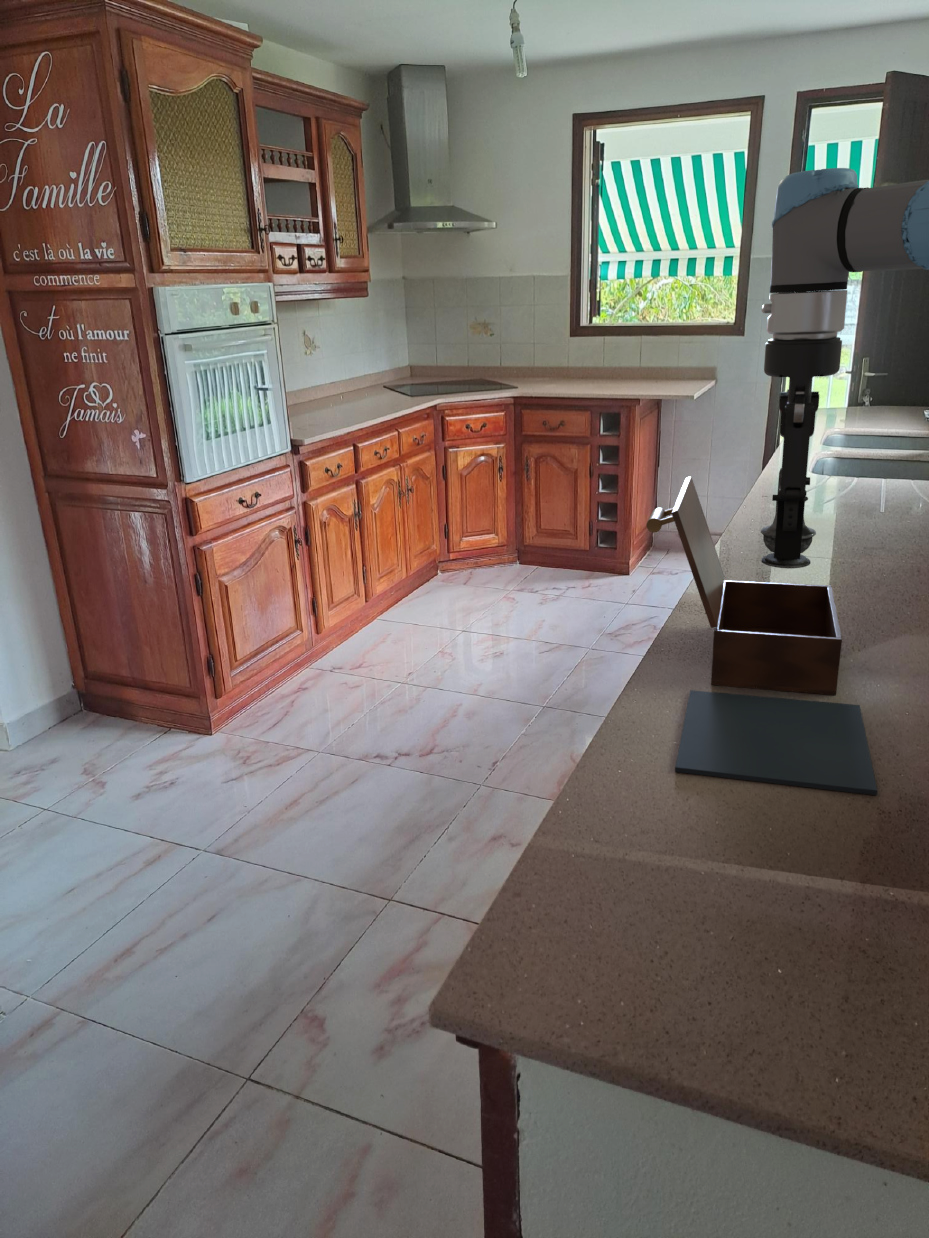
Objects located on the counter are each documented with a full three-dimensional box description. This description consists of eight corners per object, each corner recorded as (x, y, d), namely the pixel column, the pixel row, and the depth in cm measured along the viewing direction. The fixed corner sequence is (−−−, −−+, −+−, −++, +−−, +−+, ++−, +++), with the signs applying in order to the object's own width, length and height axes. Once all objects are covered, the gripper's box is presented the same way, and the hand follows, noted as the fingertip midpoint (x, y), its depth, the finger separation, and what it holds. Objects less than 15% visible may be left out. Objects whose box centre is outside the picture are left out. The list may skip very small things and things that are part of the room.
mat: (859, 709, 107) (859, 704, 107) (876, 795, 89) (877, 790, 89) (689, 694, 113) (690, 689, 113) (675, 772, 95) (675, 767, 95)
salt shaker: (763, 552, 104) (770, 451, 100) (816, 556, 101) (826, 452, 97) (754, 566, 99) (761, 460, 95) (809, 571, 97) (819, 462, 92)
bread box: (826, 634, 129) (831, 585, 127) (835, 695, 111) (842, 639, 108) (719, 627, 134) (722, 580, 131) (710, 684, 115) (713, 630, 113)
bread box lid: (691, 475, 127) (652, 488, 130) (677, 510, 109) (632, 524, 111) (724, 576, 131) (686, 587, 133) (717, 626, 112) (673, 638, 115)
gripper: (768, 332, 101) (755, 527, 109) (763, 343, 85) (748, 572, 93) (838, 329, 99) (820, 529, 107) (847, 340, 82) (825, 576, 90)
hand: (787, 549), depth 100 cm, fingers closed on salt shaker, 6 cm apart
